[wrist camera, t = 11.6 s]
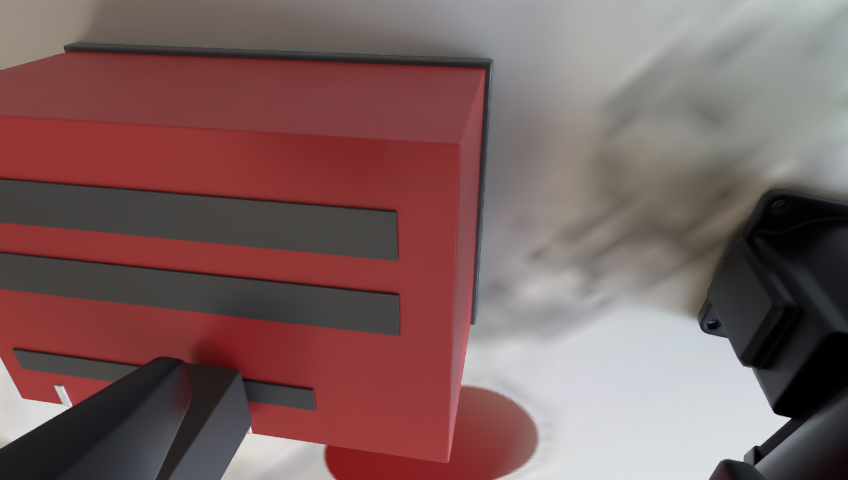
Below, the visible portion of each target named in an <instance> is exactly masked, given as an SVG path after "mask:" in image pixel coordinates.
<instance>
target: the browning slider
mask: <svg viewBox="0 0 848 480" xmlns="http://www.w3.org/2000/svg"><path fill="white" fill-rule="evenodd" d="M186 366H187V371H188V376H189V381H190V386H191V391H192V397H191V401H190V405H189V407H188V409H187V412H186V414H185V416H184V418H183V420H182V422H181V425H180V427H179V429H178V431H177V433H176V436H175V438H174V440H173V442H172V444H171V447H170V449H169V451H168V453H167V455H166V457H165V460H164V462H163V464H162V466H161V468H160V471H159V473H158V475H157V477H156V479H155V480H221V478H222V476H223V474H224V473H225V471H226V469H227V467H228V465H229V464H230V462H231V460H232V458H233V457H234V455H235V453H236V451H237V449H238V448H239V446H240V444H241V442H242V441H243V439H244V437H245V435H246V433H247V432H248V430H249V428H250V426H251V424H252V418H251V414H250V410H249V405H248V401H247V397H246V393H245V389H244V384H243V380H242V376H241V372H240V370H237V369H230V368H222V367H215V366H207V365H200V364H192V363H186Z"/></svg>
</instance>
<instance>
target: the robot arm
mask: <svg viewBox="0 0 848 480" xmlns="http://www.w3.org/2000/svg"><path fill="white" fill-rule="evenodd" d="M779 200H783V203H782V204H781V206H779V207H777V208H772V205H773V204H774V203H775V202H776V201H779ZM707 294H708V299H707V301H706V303H705V305H704V307H703V308H702V310H701V312H700V314H699V316H698V323H699V325H700V328H701V330H702V331H703V332H705V333H707V334H711V335H716V336H720V337H725V338H728V339H729V341H730V343H731V345H732V347H733V349H734V351H735V353H736V356H737V358H738V359H739V361H740V363H741V364H742V365H743V366H745V367H749V368H752V370H753V372H754V374H755V376H756V378H757V380H758V382H759V384H760V386H761V388H762V390H763V392H764V394H765V396H766V398H767V400H768V402H769V404H770V406H771V408H772V410H773V412H774V413H775V414H777V415H780V416H785V417H789V418H792V419H791V420H789V421H788V422H787V423H786V424H785V425H784V426H783V427H781V428H780V429H779V430H778V431H777V432H776V433H775V434H773V435H772V436H771V437H770V438H769V439H768V440H767V441H766V442H764V443H763V444H762V445H761V446H754V447H753V448H752V449H751V450H750V451H749V452H747V453H746V454H745V455H744V462H741V461H735V460H730V459H724V460H722V461H721V462H720V463H719V464H718V466H717V467H716V469H715V470H714V472H713V474H712V475H711V477H710V478H709V480H848V202H845V201H840V200H835V199H830V198H825V197H819V196H814V195H809V194H804V193H799V192H794V191H789V190H784V189H775V190H771V191H769V192H767V193H766V194H765V195H764V196H763V197H762V198H761V200H760V202H759V204H758V206H757V207H756V209H755V211H754V213H753V215H752V217H751V219H750V220H749V222H748V224H747V226H746V228H745V230H744V232H743V234H742V235H741V237H740V238H739V239H737V240H736V241H734V242H733V243H732V245H731V247H730V249H729V251H728V253H727V255H726V257H725V258H724V260H723V262H722V264H721V266H720V268H719V270H718V272H717V274H716V275H715V277H714V279H713V281H712V283H711V285H710V287H709V289H708V291H707ZM711 320H717V321H716V322H714V323H708V322H709V321H711ZM191 397H192V391H191V386H190V381H189V376H188V371H187V366H186V363H185V362H184V361H183V360H182V359H178V358H173V357H167V356H160V357H157V358H155V359H153V360H151V361H150V362H148V363H146V364H145V365H143V366H141V367H139V368H138V369H136V370H134V371H133V372H131V373H129V374H127V375H126V376H124V377H122V378H121V379H119V380H117V381H115V382H114V383H112V384H110V385H109V386H107V387H105V388H103V389H102V390H100V391H98V392H97V393H95V394H93V395H91V396H90V397H88V398H86V399H85V400H83V401H81V402H80V403H78V404H76V405H74V406H73V407H71V408H69V409H68V410H66V411H64V412H62V413H61V414H59V415H57V416H56V417H54V418H52V419H50V420H49V421H47V422H45V423H44V424H42V425H40V426H38V427H37V428H35V429H33V430H32V431H30V432H28V433H27V434H25V435H23V436H21V437H20V438H18V439H16V440H15V441H13V442H11V443H9V444H8V445H6V446H4V447H3V448H1V449H0V480H155V479H156V477H157V475H158V473H159V471H160V468H161V466H162V464H163V462H164V460H165V457H166V455H167V453H168V451H169V449H170V447H171V444H172V442H173V440H174V438H175V436H176V433H177V431H178V429H179V427H180V425H181V422H182V420H183V418H184V416H185V414H186V412H187V409H188V407H189V405H190V401H191Z"/></svg>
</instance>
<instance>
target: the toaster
mask: <svg viewBox="0 0 848 480" xmlns="http://www.w3.org/2000/svg"><path fill="white" fill-rule="evenodd" d="M64 50H65V53H62V54H58V55H55V56H51V57H47V58H44V59H40V60H36V61H33V62H29V63H25V64H22V65H18V66H14V67H11V68H7V69H3V70H0V357H1V359H2V361H3V363H4V365H5V367H6V369H7V370H8V372H9V374H10V376H11V378H12V380H13V381H14V383H15V385H16V387H17V389H18V391H19V393H20V394H21V396H22V398H24V399H30V400H36V401H43V402H50V403H56V404H63V405H64V406H74V405H76V404H78V403H80V402H81V401H83V400H85V399H86V398H88V397H90V396H91V395H93V394H95V393H97V392H98V391H100V390H102V389H103V388H105V387H107V386H109V385H110V384H112V383H114V382H115V381H117V380H119V379H121V378H122V377H124V376H126V375H127V374H129V373H131V372H133V371H134V370H136V369H138V368H139V367H141V366H143V365H145V364H146V363H148V362H150V361H151V360H153V359H155V358H157V357H160V356H167V357H173V358H178V359H182V360H183V361H184V362H185V363H192V364H200V365H207V366H215V367H222V368H230V369H237V370H240V372H241V376H242V380H243V384H244V389H245V393H246V397H247V401H248V405H249V410H250V414H251V418H252V424H251V426H250V428H249V430H248V432H247V433H248V434H251V433H254V434H260V435H267V436H273V437H280V438H286V439H293V440H300V441H306V442H313V443H319V444H326V445H333V446H339V447H346V448H352V449H359V450H366V451H372V452H379V453H385V454H392V455H398V456H405V457H411V458H418V459H425V460H431V461H438V462H444V463H448V462H449V457H450V451H451V445H452V438H453V431H454V425H455V419H456V413H457V406H458V400H459V393H460V387H461V380H462V374H463V368H464V361H465V355H466V348H467V342H468V335H469V329H470V324H472V325H474V324H475V322H476V312H477V297H478V281H479V266H480V250H481V235H482V220H483V204H484V189H485V173H486V158H487V143H488V127H489V112H490V97H491V81H492V66H493V60H492V59H476V58H450V57H424V56H398V55H372V54H346V53H320V52H294V51H268V50H242V49H216V48H190V47H164V46H138V45H113V44H87V43H72V44H68V45H65V46H64Z"/></svg>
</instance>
